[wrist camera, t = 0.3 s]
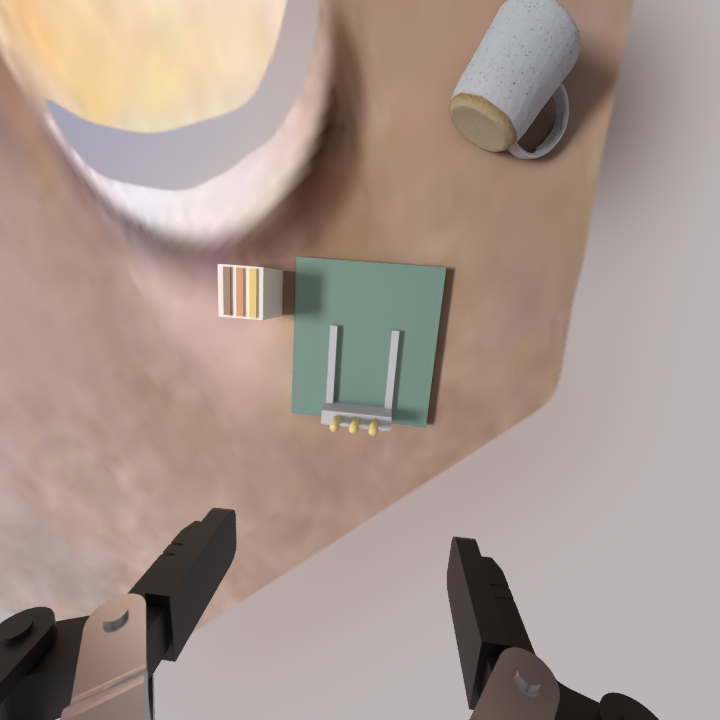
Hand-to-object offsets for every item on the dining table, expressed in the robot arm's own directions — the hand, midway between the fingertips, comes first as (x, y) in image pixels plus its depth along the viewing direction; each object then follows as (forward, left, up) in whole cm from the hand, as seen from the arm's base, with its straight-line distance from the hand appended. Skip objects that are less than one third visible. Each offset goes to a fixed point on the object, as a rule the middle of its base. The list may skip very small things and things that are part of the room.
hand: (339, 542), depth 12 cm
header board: (-3, -1, -27) cm, 28 cm away
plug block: (-8, -13, -27) cm, 31 cm away
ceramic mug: (-26, +11, -28) cm, 40 cm away
